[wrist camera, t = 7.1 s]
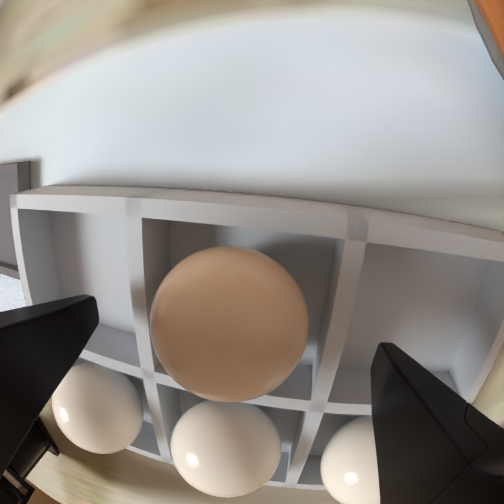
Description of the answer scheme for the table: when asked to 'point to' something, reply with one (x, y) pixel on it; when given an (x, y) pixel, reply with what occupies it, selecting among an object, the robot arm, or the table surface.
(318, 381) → the egg tray
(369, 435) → the white egg
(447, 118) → the table surface
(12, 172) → the egg dish
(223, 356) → the brown egg
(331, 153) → the table surface
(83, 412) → the white egg
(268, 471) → the white egg
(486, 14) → the pie
